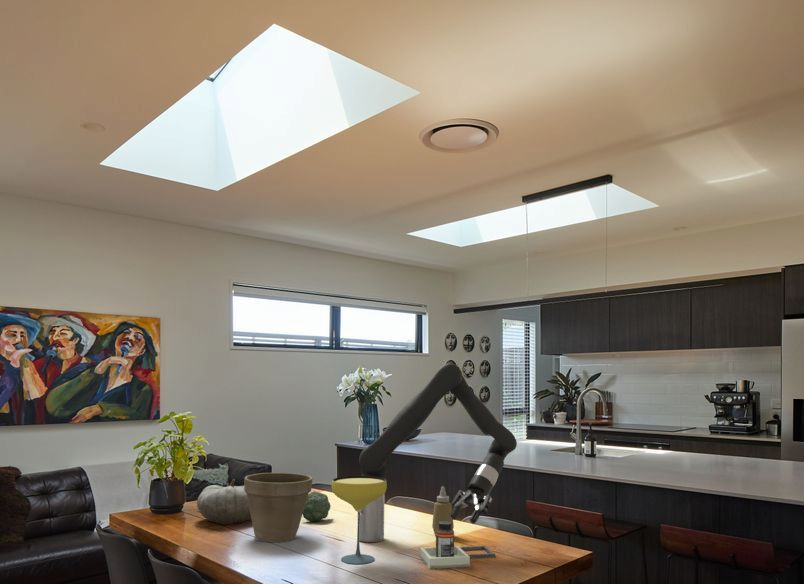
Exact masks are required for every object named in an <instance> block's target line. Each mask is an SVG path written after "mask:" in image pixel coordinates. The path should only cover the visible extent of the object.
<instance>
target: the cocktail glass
mask: <svg viewBox="0 0 804 584" xmlns="http://www.w3.org/2000/svg"><path fill="white" fill-rule="evenodd" d="M387 483H388V482H387V479H386V478H385V479H384V478H381V477H374V476H361V475H348V476H347V475H346V476H339V477H335V478H333V479H332V481H331V491H332V494H333V495H335V496H336V498H339V499H340V500H342V501H343V502H346V503H347V504H349V505H350V506H351V507H352V508H353V509H354V511H355V512H357V528H356V529H357V533H356V534H357V535H356V537H357V538H356V551H355V553H352V554H346V555H343V556H342V557H341V558H340V560H341V562H343V563H344V564H349V565H367V564H371V563H372V562H374V561H375V557H374V556H372V555H369V554H363V553H362V552H361V549H360V548H361V547H360V541H359V524H360V512H361V511H362V510H363V509H364V507H365V506H366V505H367V504H369V503H370V502H372V501H374V500H376V499H378V498H380V497H381V496H382V495H383V494H384V495H385V494H386V492H387V488H388V486H387V485H388V484H387Z"/></svg>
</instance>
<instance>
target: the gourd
mask: <svg viewBox="0 0 804 584" xmlns="http://www.w3.org/2000/svg"><path fill="white" fill-rule="evenodd" d="M235 482H236V479H234V478H233V479H232V481H231V482H230V484H229V485H228V486H222V485H219V484H213V485H208V486H205V488H203V489H202V491H201V492H200V494H199V496H198V498H197V500H196V507H197V510H198V511H199V513H200V514H201V516H202V517H203V518H205V519H206V520H207V521H209V522H212V523H218V524H219V525H224V526H225V525H230V524H232V523H236V524H237V523H240V522H247V521H248V520H250V519H251V514H250V509H249V504H248V498H247V493H246V492H245V491H244V485H242V486H241V485H240V486H239V485H235ZM251 520H252V519H251Z"/></svg>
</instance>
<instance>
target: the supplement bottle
mask: <svg viewBox="0 0 804 584" xmlns="http://www.w3.org/2000/svg"><path fill="white" fill-rule="evenodd" d="M454 546H455V531H454V528H453V529H451V522H448V521H441V522H439V528H438V529H437V530H436V536H435V547H436V557H454Z"/></svg>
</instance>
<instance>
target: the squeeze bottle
mask: <svg viewBox="0 0 804 584" xmlns="http://www.w3.org/2000/svg"><path fill="white" fill-rule="evenodd" d="M445 487H446V486H441V487H440V491H439V495H437V496H436V502H435V503H434V506H433V514H432V525H431V526H432V529H433V534H434V536H435V537H436V530H437V529H438V528H439V522H441V521H448V522H451V529H453V530H454V527H455V526H454V519H452V517H451V512H452V510H453V505H452V502H450V496H449V495H447V493H446V488H445Z"/></svg>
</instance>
